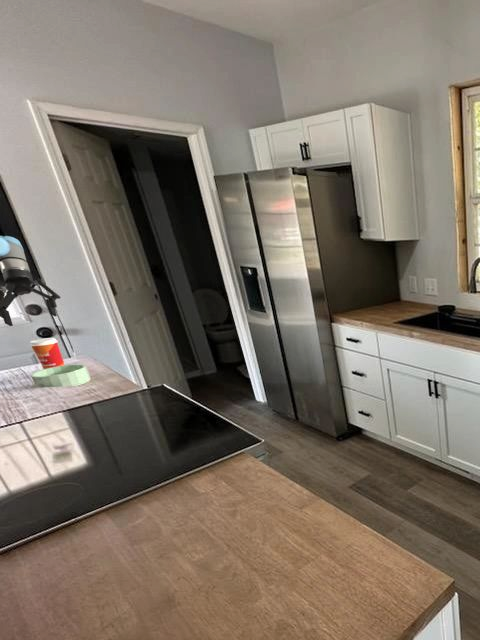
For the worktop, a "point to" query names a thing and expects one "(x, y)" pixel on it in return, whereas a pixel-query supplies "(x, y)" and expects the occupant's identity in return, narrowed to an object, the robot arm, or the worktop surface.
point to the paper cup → (47, 352)
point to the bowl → (61, 376)
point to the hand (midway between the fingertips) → (31, 319)
